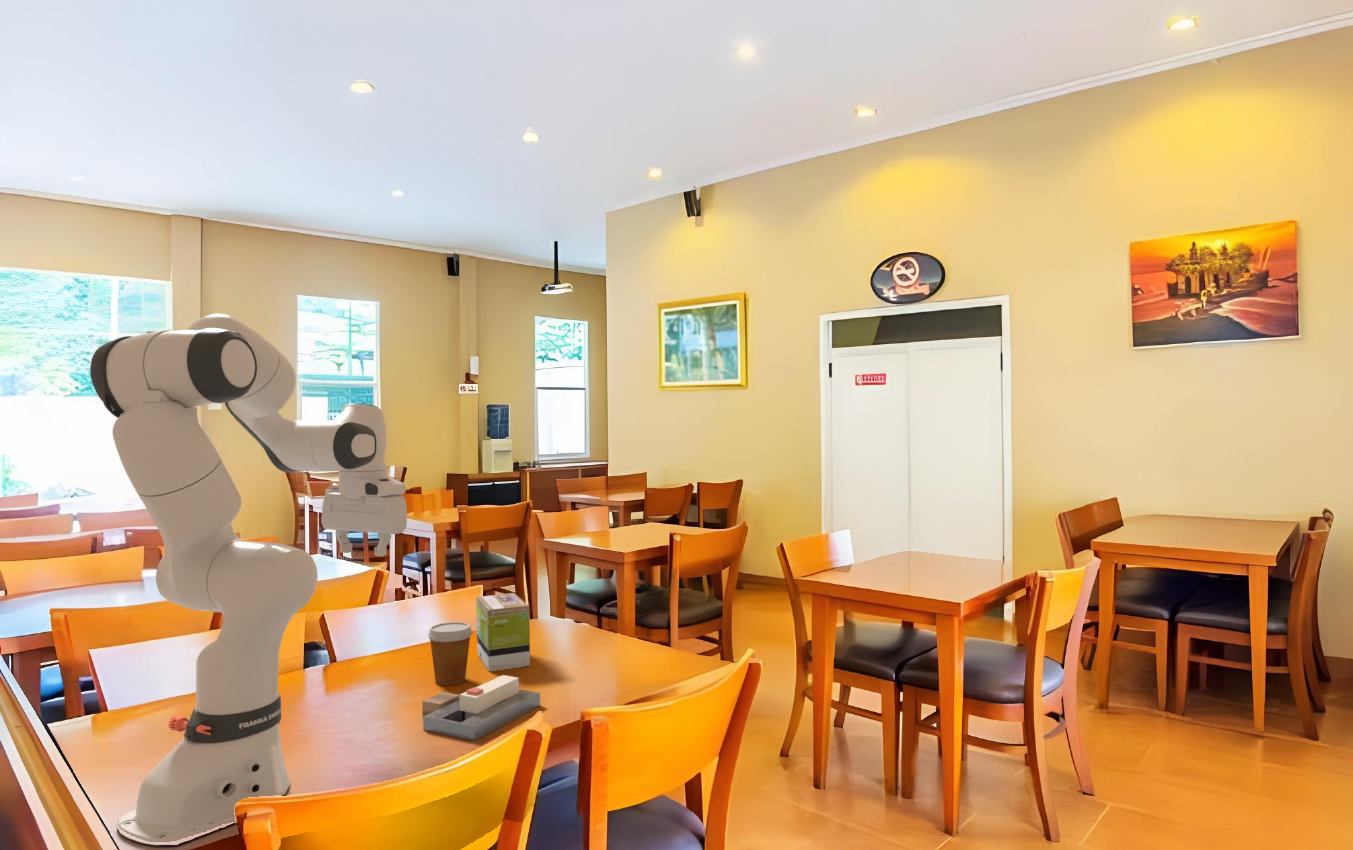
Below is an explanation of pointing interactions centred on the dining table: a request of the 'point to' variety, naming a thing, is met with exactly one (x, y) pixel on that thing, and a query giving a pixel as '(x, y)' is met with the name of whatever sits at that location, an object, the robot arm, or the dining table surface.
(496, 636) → the tea box
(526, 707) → the keyhole plate
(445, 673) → the disposable coffee cup
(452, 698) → the tan rectangular block
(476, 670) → the dining table surface
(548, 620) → the dining table surface
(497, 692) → the white key block
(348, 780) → the dining table surface
